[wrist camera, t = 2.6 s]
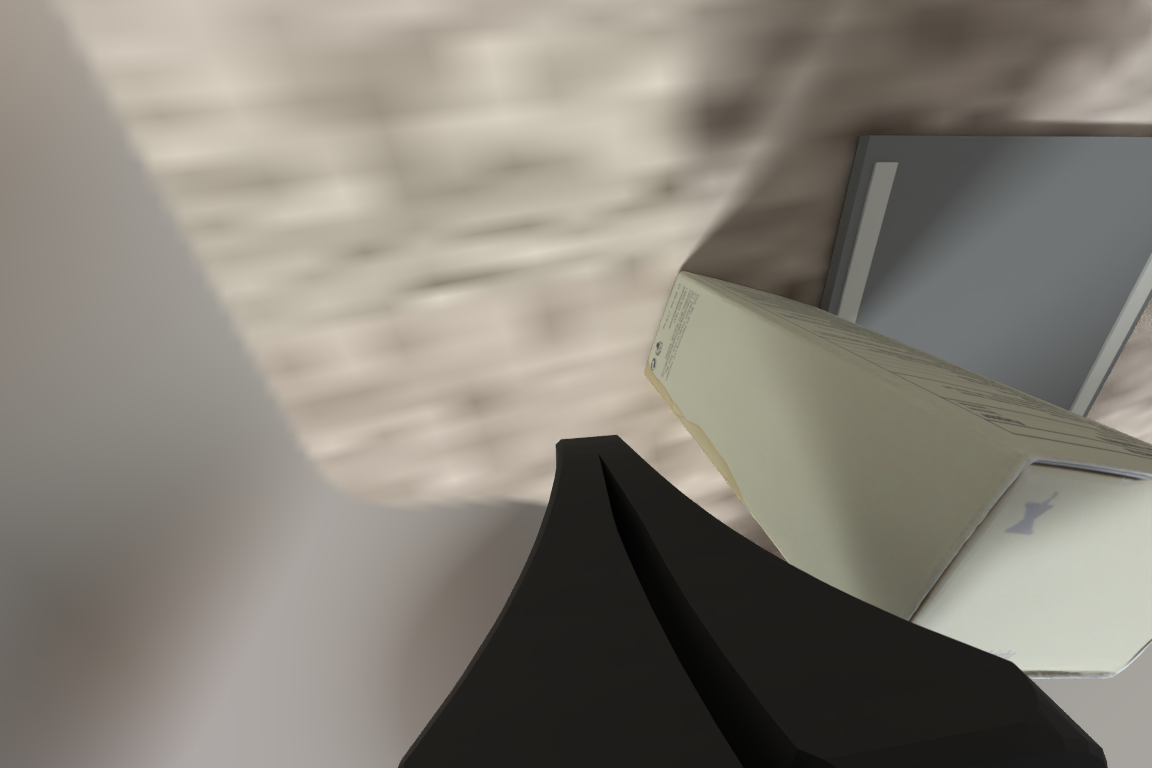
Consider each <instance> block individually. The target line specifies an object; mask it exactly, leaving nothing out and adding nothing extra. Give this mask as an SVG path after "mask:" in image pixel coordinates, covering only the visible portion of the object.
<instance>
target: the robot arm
mask: <svg viewBox="0 0 1152 768" xmlns="http://www.w3.org/2000/svg"><path fill="white" fill-rule="evenodd" d="M398 768H1108V767H1107V761H1106V758H1105V755H1104V752H1103V749H1102V748H1101V747H1100V746H1099V745H1098V744H1097V743H1096V742H1095V741H1094V740H1093V739H1092V738H1091V737H1090V736H1089V735H1088V734H1087V733H1086V732H1085V731H1084V730H1083V729H1082V728H1081V727H1080V726H1079V725H1078V724H1076V723H1075V722H1074V721H1073V720H1072V719H1071V718H1070V717H1069V716H1068V715H1067V714H1066V713H1065V712H1064V711H1063V710H1062V709H1061V708H1060V707H1059V706H1058V705H1057V704H1056V703H1055V702H1054V701H1053V700H1052V699H1051V698H1050V697H1049V696H1048V695H1047V694H1045V693H1044V692H1043V691H1042V690H1041V689H1040V688H1039V687H1038V686H1037V685H1036V684H1035V683H1034V682H1033V681H1032V680H1031V679H1030V678H1029V677H1028V676H1027V675H1026V674H1025V673H1024V672H1023V671H1022V670H1021V669H1020V668H1019V667H1017V666H1016V665H1015V664H1014V663H1013V662H1012V661H1009V660H1006V659H1004V658H1001V657H999V656H996V655H994V654H991V653H989V652H986V651H983V650H981V649H978V648H976V647H973V646H971V645H968V644H965V643H963V642H960V641H958V640H955V639H953V638H950V637H948V636H945V635H942V634H940V633H937V632H935V631H932V630H930V629H927V628H924V627H922V626H919V625H917V624H914V623H912V622H910V621H907V620H905V619H903V618H900V617H898V616H896V615H894V614H891V613H889V612H887V611H885V610H882V609H880V608H878V607H876V606H874V605H871V604H869V603H867V602H865V601H862V600H860V599H858V598H856V597H854V596H852V595H850V594H847V593H845V592H843V591H841V590H839V589H837V588H835V587H833V586H831V585H829V584H827V583H825V582H823V581H821V580H819V579H817V578H815V577H813V576H812V575H810V574H808V573H806V572H804V571H802V570H800V569H799V568H797V567H795V566H793V565H791V564H789V563H787V562H785V561H784V560H782V559H780V558H778V557H777V556H775V555H773V554H771V553H770V552H768V551H766V550H764V549H763V548H761V547H760V546H758V545H756V544H755V543H753V542H752V541H750V540H748V539H747V538H745V537H744V536H742V535H741V534H739V533H737V532H736V531H734V530H733V529H731V528H729V527H728V526H727V525H725V524H724V523H722V522H721V521H719V520H718V519H716V518H715V517H714V516H712V515H711V514H709V513H708V512H707V511H705V510H704V509H703V508H701V507H700V506H699V505H697V504H696V503H695V502H693V501H692V500H691V499H689V498H688V497H687V496H686V495H684V494H683V493H682V492H681V491H679V490H678V489H677V488H676V487H674V486H673V485H672V484H671V483H670V482H668V481H667V480H666V479H665V478H664V477H663V476H661V475H660V474H659V473H658V472H657V471H656V470H655V469H653V468H652V467H651V466H650V465H649V464H648V463H647V462H646V461H645V460H644V459H642V458H641V457H640V456H639V455H638V454H637V453H636V452H635V451H634V450H633V449H632V448H631V447H630V446H628V445H627V444H626V443H625V442H624V441H623V440H622V439H621V438H620V437H619V436H618V435H610V436H597V437H585V438H573V439H561V440H560V441H559V442H558V443H557V444H556V473H555V479H554V483H553V487H552V491H551V495H550V500H549V503H548V506H547V509H546V512H545V515H544V518H543V521H542V524H541V527H540V530H539V533H538V536H537V538H536V541H535V543H534V546H533V548H532V550H531V553H530V555H529V557H528V560H527V562H526V564H525V566H524V568H523V570H522V573H521V575H520V577H519V579H518V581H517V583H516V585H515V587H514V588H513V590H512V592H511V595H510V596H509V598H508V600H507V602H506V604H505V606H504V608H503V610H502V611H501V613H500V615H499V617H498V618H497V620H496V622H495V624H494V625H493V627H492V629H491V630H490V632H489V633H488V635H487V637H486V638H485V640H484V642H483V643H482V645H481V646H480V648H479V649H478V651H477V653H476V654H475V656H474V657H473V659H472V661H471V662H470V664H469V665H468V667H467V669H466V670H465V672H464V673H463V675H462V676H461V678H460V679H459V681H458V682H457V684H456V685H455V687H454V688H453V690H452V691H451V693H450V694H449V695H448V697H447V698H446V699H445V701H444V702H443V704H442V705H441V706H440V708H439V709H438V710H437V712H436V713H435V714H434V716H433V717H432V719H431V720H430V721H429V723H428V724H427V726H426V727H425V728H424V730H423V731H422V732H421V734H420V735H419V737H418V738H417V739H416V741H415V742H414V743H413V745H412V746H411V747H410V749H409V750H408V752H407V753H406V754H405V756H404V757H403V759H402V760H401V762H400V764H399V766H398Z"/></svg>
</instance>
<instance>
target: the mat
mask: <svg viewBox="0 0 1152 768" xmlns="http://www.w3.org/2000/svg"><path fill="white" fill-rule="evenodd" d="M1151 297H1152V137H1070V136H919V135H867V136H860V137H859V142H858V146H857V150H856V155H855V159H854V163H853V167H852V172H851V176H850V180H849V185H848V189H847V193H846V198H845V202H844V206H843V210H842V215H841V219H840V223H839V228H838V232H837V236H836V241H835V245H834V249H833V254H832V258H831V262H830V266H829V271H828V275H827V279H826V284H825V288H824V292H823V297H822V301H821V305H820V309H822V310H824V311H827V312H829V313H831V314H834V315H836V316H839V317H841V318H844V319H846V320H848V321H851V322H853V323H856V324H858V325H861V326H863V327H866V328H868V329H870V330H873V331H875V332H878V333H880V334H883V335H885V336H887V337H890V338H892V339H895V340H897V341H900V342H902V343H904V344H907V345H909V346H912V347H914V348H917V349H919V350H921V351H924V352H926V353H929V354H931V355H934V356H936V357H938V358H941V359H943V360H946V361H948V362H951V363H953V364H955V365H958V366H960V367H963V368H965V369H968V370H970V371H972V372H975V373H977V374H980V375H982V376H985V377H987V378H990V379H992V380H995V381H997V382H1000V383H1002V384H1004V385H1007V386H1009V387H1012V388H1014V389H1017V390H1019V391H1022V392H1024V393H1027V394H1029V395H1032V396H1034V397H1036V398H1039V399H1041V400H1044V401H1046V402H1049V403H1051V404H1053V405H1056V406H1058V407H1061V408H1063V409H1066V410H1068V411H1071V412H1073V413H1076V414H1078V415H1080V416H1083V417H1085V418H1086V416H1087V414H1088V412H1089V410H1090V408H1091V407H1092V405H1093V403H1094V401H1095V399H1096V397H1097V396H1098V394H1099V392H1100V390H1101V388H1102V387H1103V385H1104V383H1105V381H1106V379H1107V377H1108V376H1109V374H1110V372H1111V370H1112V368H1113V366H1114V365H1115V363H1116V361H1117V359H1118V357H1119V355H1120V354H1121V352H1122V350H1123V348H1124V346H1125V344H1126V343H1127V341H1128V339H1129V337H1130V335H1131V333H1132V332H1133V330H1134V328H1135V326H1136V324H1137V322H1138V321H1139V319H1140V317H1141V315H1142V313H1143V311H1144V310H1145V308H1146V306H1147V304H1148V302H1149V300H1150V299H1151Z"/></svg>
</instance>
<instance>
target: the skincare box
mask: <svg viewBox="0 0 1152 768" xmlns="http://www.w3.org/2000/svg"><path fill="white" fill-rule="evenodd" d="M645 376H646V377H647V379H648V380H649V381H650V382H651V384H652V385H653V386H654V388H655V389H656V390H657V392H658V393H659V394H660V396H661V397H662V398H663V399H664V401H665V402H666V403H667V405H668V406H669V407H670V409H671V410H672V411H673V413H674V414H675V415H676V416H677V418H678V419H679V420H680V422H681V423H682V424H683V426H684V427H685V428H686V429H687V431H688V432H689V433H690V435H691V436H692V437H693V439H694V440H695V441H696V443H697V444H698V445H699V447H700V448H701V449H702V451H703V452H704V453H705V455H706V456H707V457H708V458H709V460H710V461H711V462H712V464H713V465H714V466H715V467H716V469H717V470H718V472H719V473H720V474H721V475H722V476H723V478H724V479H725V481H726V482H727V483H728V485H729V486H730V487H731V488H732V490H733V491H734V492H735V494H736V495H737V496H738V498H739V499H740V500H741V501H742V503H743V504H744V505H745V506H746V508H747V509H748V511H749V512H750V513H751V515H752V516H753V517H754V519H755V520H756V521H757V522H758V524H759V525H760V526H761V527H762V529H763V530H764V531H765V533H766V534H767V535H768V537H769V538H770V539H771V541H772V542H773V543H774V545H775V546H776V547H777V549H778V550H779V551H780V553H781V554H782V555H783V557H784V558H785V559H786V560H787V562H788V563H789V564H791V565H793V566H795V567H797V568H799V569H800V570H802V571H804V572H806V573H808V574H810V575H812V576H813V577H815V578H817V579H819V580H821V581H823V582H825V583H827V584H829V585H831V586H833V587H835V588H837V589H839V590H841V591H843V592H845V593H847V594H850V595H852V596H854V597H856V598H858V599H860V600H862V601H865V602H867V603H869V604H871V605H874V606H876V607H878V608H880V609H882V610H885V611H887V612H889V613H891V614H894V615H896V616H898V617H900V618H903V619H905V620H907V621H910V622H912V623H914V624H917V625H919V626H922V627H924V628H927V629H930V630H932V631H935V632H937V633H940V634H942V635H945V636H948V637H950V638H953V639H955V640H958V641H960V642H963V643H965V644H968V645H971V646H973V647H976V648H978V649H981V650H983V651H986V652H989V653H991V654H994V655H996V656H999V657H1001V658H1004V659H1006V660H1009V661H1012V662H1013V663H1014V664H1015V665H1016V666H1017V667H1019V668H1020V669H1021V670H1022V671H1023V672H1024V673H1025V674H1026V675H1027V676H1028V677H1029V678H1040V679H1048V678H1050V679H1053V678H1054V679H1055V678H1105V679H1106V678H1112V677H1113V676H1115V675H1116V674H1118V673H1119V672H1121V671H1122V670H1124V669H1125V668H1126V667H1127V666H1128V665H1130V664H1131V663H1132V662H1133V661H1134V660H1135V659H1136V658H1137V657H1138V656H1139V655H1140V654H1141V653H1142V652H1143V651H1144V650H1145V649H1146V648H1147V646H1149V645H1150V643H1152V445H1151V444H1149V443H1146V442H1144V441H1141V440H1139V439H1137V438H1134V437H1132V436H1129V435H1127V434H1124V433H1122V432H1120V431H1117V430H1115V429H1112V428H1110V427H1107V426H1105V425H1103V424H1100V423H1098V422H1095V421H1093V420H1090V419H1088V418H1085V417H1083V416H1080V415H1078V414H1076V413H1073V412H1071V411H1068V410H1066V409H1063V408H1061V407H1058V406H1056V405H1053V404H1051V403H1049V402H1046V401H1044V400H1041V399H1039V398H1036V397H1034V396H1032V395H1029V394H1027V393H1024V392H1022V391H1019V390H1017V389H1014V388H1012V387H1009V386H1007V385H1004V384H1002V383H1000V382H997V381H995V380H992V379H990V378H987V377H985V376H982V375H980V374H977V373H975V372H972V371H970V370H968V369H965V368H963V367H960V366H958V365H955V364H953V363H951V362H948V361H946V360H943V359H941V358H938V357H936V356H934V355H931V354H929V353H926V352H924V351H921V350H919V349H917V348H914V347H912V346H909V345H907V344H904V343H902V342H900V341H897V340H895V339H892V338H890V337H887V336H885V335H883V334H880V333H878V332H875V331H873V330H870V329H868V328H866V327H863V326H861V325H858V324H856V323H853V322H851V321H848V320H846V319H844V318H841V317H839V316H836V315H834V314H831V313H829V312H827V311H824V310H822V309H819V308H817V307H814V306H811V305H808V304H805V303H801V302H798V301H795V300H792V299H788V298H785V297H782V296H778V295H774V294H771V293H767V292H764V291H760V290H757V289H753V288H749V287H745V286H742V285H738V284H734V283H731V282H727V281H723V280H719V279H715V278H711V277H706V276H702V275H698V274H694V273H690V272H685V271H681V272H680V273H679V274H678V276H677V278H676V282H675V284H674V287H673V290H672V292H671V295H670V298H669V300H668V303H667V306H666V309H665V312H664V314H663V317H662V320H661V323H660V326H659V329H658V332H657V334H656V338H655V340H654V343H653V347H652V349H651V352H650V356H649V359H648V362H647V365H646V368H645Z"/></svg>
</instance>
